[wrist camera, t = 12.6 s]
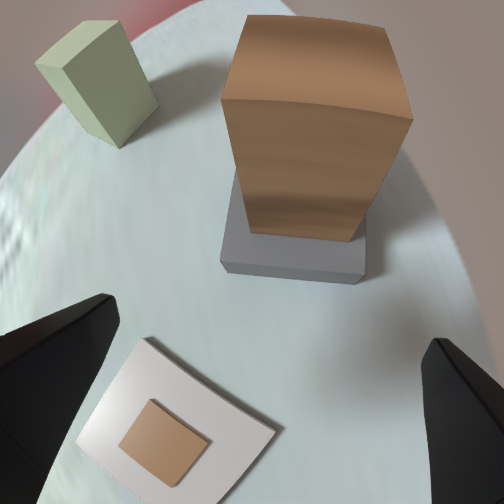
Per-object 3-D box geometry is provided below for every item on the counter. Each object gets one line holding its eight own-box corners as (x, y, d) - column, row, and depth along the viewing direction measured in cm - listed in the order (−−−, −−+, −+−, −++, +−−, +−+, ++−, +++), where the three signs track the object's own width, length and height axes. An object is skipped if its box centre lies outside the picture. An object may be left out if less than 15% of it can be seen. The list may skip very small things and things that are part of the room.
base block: (353, 286, 19) (364, 274, 16) (228, 274, 20) (219, 260, 17) (354, 177, 21) (362, 154, 19) (245, 168, 22) (240, 144, 20)
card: (275, 429, 16) (275, 433, 15) (191, 528, 14) (187, 534, 13) (144, 337, 19) (138, 336, 18) (79, 440, 17) (72, 443, 16)
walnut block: (348, 242, 17) (413, 119, 7) (250, 232, 17) (220, 99, 8) (348, 161, 18) (384, 28, 9) (261, 153, 19) (247, 14, 10)
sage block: (159, 105, 25) (119, 20, 16) (119, 149, 24) (61, 68, 15) (123, 93, 27) (83, 20, 17) (86, 132, 25) (34, 63, 16)
